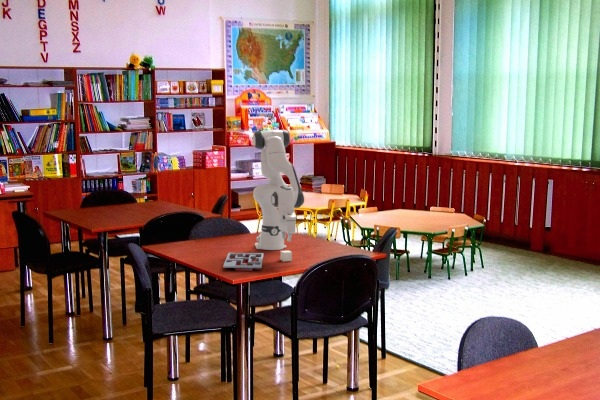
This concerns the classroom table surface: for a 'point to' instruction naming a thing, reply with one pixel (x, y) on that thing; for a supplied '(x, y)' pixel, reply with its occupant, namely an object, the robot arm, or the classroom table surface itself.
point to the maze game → (244, 261)
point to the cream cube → (286, 256)
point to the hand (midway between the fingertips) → (286, 240)
